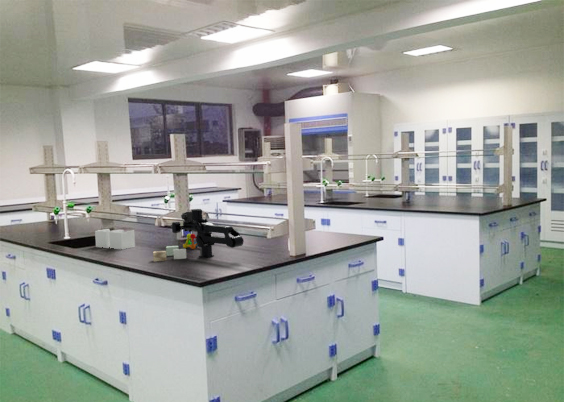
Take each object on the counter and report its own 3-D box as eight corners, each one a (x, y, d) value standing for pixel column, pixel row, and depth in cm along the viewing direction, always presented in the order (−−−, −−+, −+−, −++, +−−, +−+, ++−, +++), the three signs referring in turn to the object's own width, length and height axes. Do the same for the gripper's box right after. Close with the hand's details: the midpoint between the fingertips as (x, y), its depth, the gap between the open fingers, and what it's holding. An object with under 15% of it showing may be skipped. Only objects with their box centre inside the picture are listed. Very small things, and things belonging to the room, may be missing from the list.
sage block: (178, 253, 295) (178, 245, 294) (178, 255, 291) (178, 246, 290) (166, 254, 293) (166, 246, 293) (166, 256, 289) (166, 247, 289)
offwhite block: (186, 257, 284) (185, 248, 284) (186, 258, 280) (186, 249, 280) (173, 258, 282) (173, 249, 282) (173, 259, 279) (173, 250, 278)
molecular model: (197, 252, 320) (206, 240, 310) (185, 257, 313) (194, 245, 303) (188, 238, 322) (197, 226, 312) (176, 243, 315) (184, 231, 305)
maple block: (166, 259, 280) (166, 250, 279) (166, 260, 276) (166, 251, 275) (153, 260, 278) (153, 251, 278) (153, 261, 274) (153, 252, 274)
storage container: (96, 247, 328) (94, 230, 327) (109, 244, 337) (108, 228, 336) (121, 249, 315) (120, 232, 314) (135, 246, 324) (134, 230, 323)
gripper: (205, 211, 294) (188, 210, 304) (180, 214, 280) (163, 213, 290) (206, 229, 295) (189, 228, 305) (181, 234, 281) (164, 232, 291)
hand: (177, 225), depth 298 cm, fingers open, 9 cm apart
